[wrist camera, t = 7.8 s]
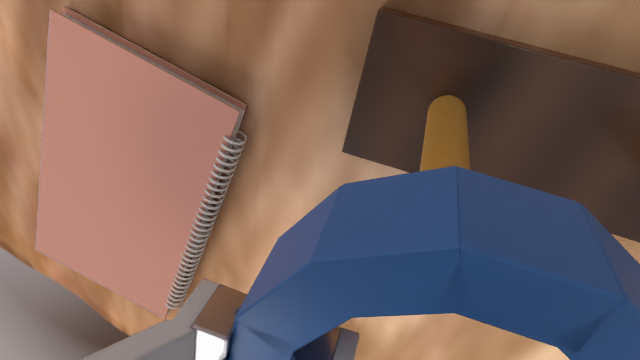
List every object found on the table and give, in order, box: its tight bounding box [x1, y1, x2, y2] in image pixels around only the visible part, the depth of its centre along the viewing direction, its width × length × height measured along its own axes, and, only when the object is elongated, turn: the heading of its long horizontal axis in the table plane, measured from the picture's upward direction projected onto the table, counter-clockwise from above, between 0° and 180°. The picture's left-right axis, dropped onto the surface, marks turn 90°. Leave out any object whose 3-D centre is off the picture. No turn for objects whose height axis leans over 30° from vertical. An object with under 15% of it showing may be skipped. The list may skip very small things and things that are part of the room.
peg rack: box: [342, 7, 640, 242], centre depth 24 cm, size 26×10×12 cm, turn 79°
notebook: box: [35, 6, 247, 319], centre depth 40 cm, size 27×17×2 cm, turn 156°
